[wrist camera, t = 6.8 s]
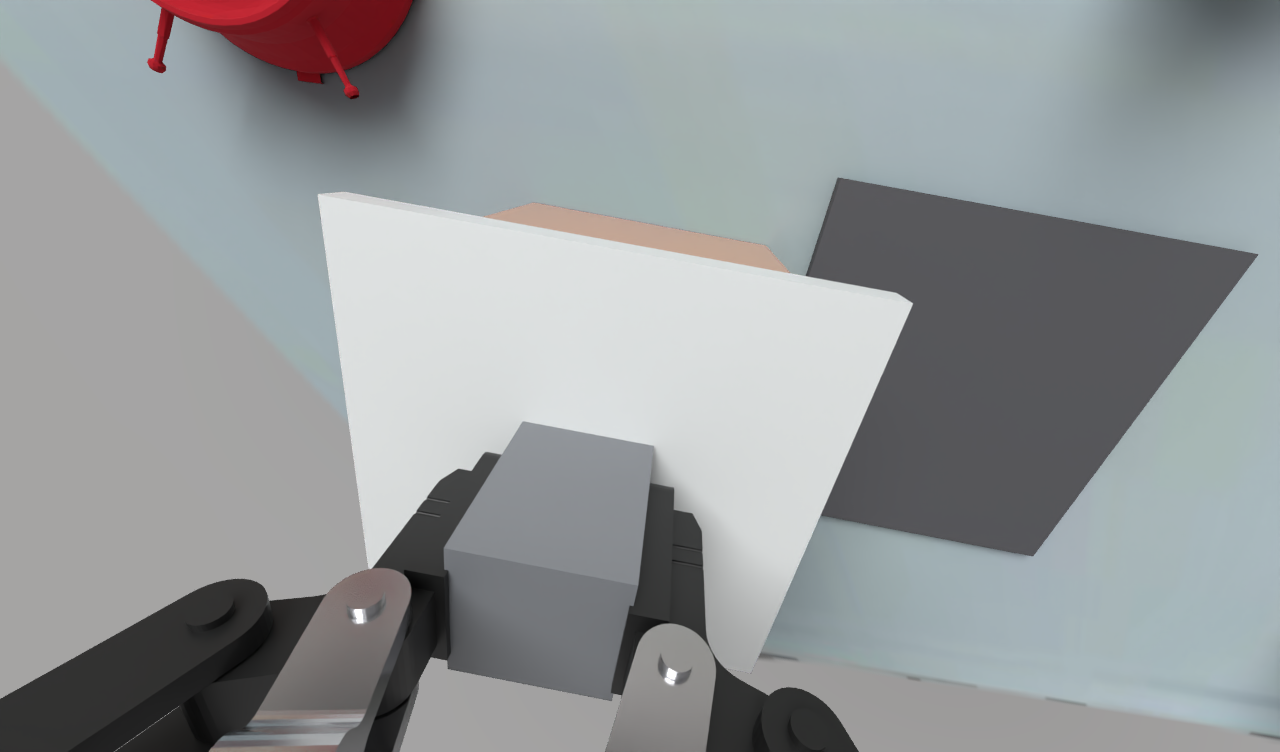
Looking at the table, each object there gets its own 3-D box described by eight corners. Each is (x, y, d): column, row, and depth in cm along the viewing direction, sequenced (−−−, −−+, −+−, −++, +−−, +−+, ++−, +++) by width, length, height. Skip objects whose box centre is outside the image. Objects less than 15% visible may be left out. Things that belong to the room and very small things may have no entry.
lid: (896, 292, 10) (1063, 399, 5) (747, 649, 15) (773, 847, 11) (344, 191, 10) (79, 217, 6) (388, 578, 15) (268, 747, 11)
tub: (766, 245, 19) (795, 279, 14) (711, 441, 24) (718, 524, 18) (533, 202, 20) (474, 219, 14) (521, 404, 24) (472, 476, 18)
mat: (1247, 252, 18) (1258, 254, 17) (1028, 550, 25) (1033, 556, 24) (837, 177, 18) (840, 178, 18) (735, 493, 25) (735, 498, 25)
